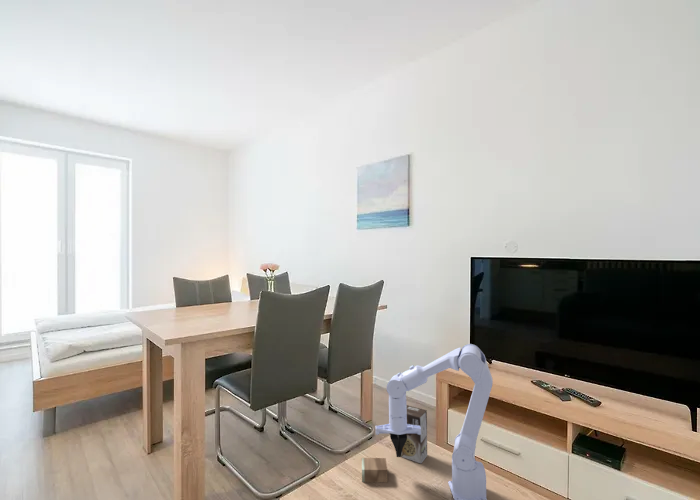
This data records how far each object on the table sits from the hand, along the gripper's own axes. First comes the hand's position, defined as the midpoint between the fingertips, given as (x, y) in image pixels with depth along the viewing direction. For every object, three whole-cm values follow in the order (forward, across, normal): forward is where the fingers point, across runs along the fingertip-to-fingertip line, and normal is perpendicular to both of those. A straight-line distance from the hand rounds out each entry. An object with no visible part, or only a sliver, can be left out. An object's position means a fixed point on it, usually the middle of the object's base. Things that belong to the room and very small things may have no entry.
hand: (398, 455), depth 111 cm
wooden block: (+5, +4, 0) cm, 6 cm away
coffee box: (+7, -6, -11) cm, 14 cm away
